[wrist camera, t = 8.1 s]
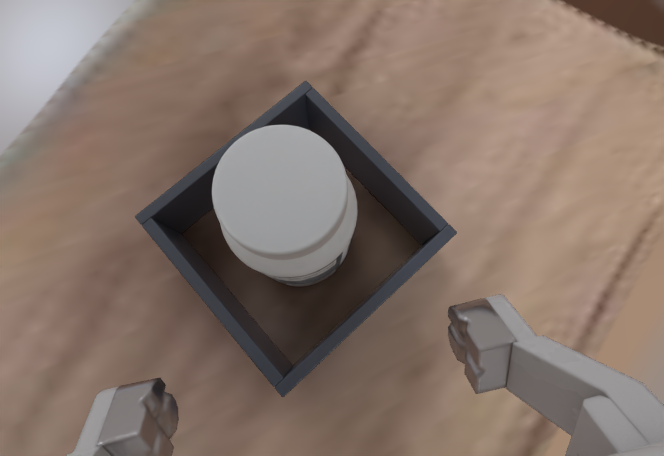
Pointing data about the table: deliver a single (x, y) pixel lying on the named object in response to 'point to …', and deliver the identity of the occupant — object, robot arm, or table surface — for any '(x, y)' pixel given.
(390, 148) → the table surface
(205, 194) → the open box
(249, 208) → the pill bottle
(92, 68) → the table surface
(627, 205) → the table surface
